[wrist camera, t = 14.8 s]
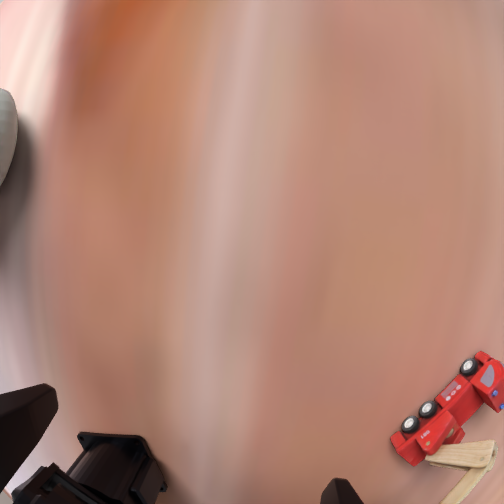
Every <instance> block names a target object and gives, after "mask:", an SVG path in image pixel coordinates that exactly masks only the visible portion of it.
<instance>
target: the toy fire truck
mask: <svg viewBox="0 0 504 504" xmlns="http://www.w3.org/2000/svg"><path fill="white" fill-rule="evenodd" d="M461 373H462V374H459V375H457V376H456V378H454V380H453V381H452V382H451V383H450V384H449V385H448V386H447V387H446V388H445V389H444V390H443V391H442V392H441V393H440V394H439V395H438V396H437V397H436V398H435V402H433V401H427V402H425V403H424V404H423V405H422V406H421V407H420V410H419V413H420V418H419V419H418V418H417V417H415V416H410V417H408V418H406V419H405V420H404V422H403V424H402V430H403V431H404V432H403V433H402V432H400V431H398V432H396V433H395V434H394V435H392V436H391V438H390V440H391V442H392V444H393V445H394V447H395V449H396V452H397V453H398V454H399V455H400V456H401V457H403V458H404V459H405V460H406V461H407V462H408V463H410V464H411V465H412V466H416V465H417V464H418V463H420V462H421V461H422V460H423V459H425V460H426V461H430V463H429V464H430V465H431V466H437V467H443V468H449V469H456V470H463V471H468V472H467V473H466V474H465V475H464V476H463V478H462V479H461V480H460V481H459V482H458V484H457V485H456V486H455V487H454V488H453V489H452V490H451V491H450V492H449V494H448V495H447V496H446V497H445V498H444V499H443V500H442V501H441V502H440V503H439V504H460V503H461V501H462V500H463V499H464V498H465V497H466V496H467V495H468V494H469V493H470V492H471V490H472V489H473V488H474V487H475V486H476V484H477V483H478V482H479V481H480V479H481V478H482V477H483V475H484V474H485V473H486V472H489V471H490V470H491V469H492V468H493V466H494V462H495V459H496V455H497V451H498V446H497V444H496V442H495V440H493V439H491V440H484V441H477V442H468V443H460V442H461V440H462V439H463V437H464V435H465V432H464V431H463V430H462V428H461V426H462V425H463V424H464V423H465V422H466V421H467V420H468V419H469V418H470V417H471V416H472V415H473V414H474V413H475V412H476V411H477V409H478V408H479V407H480V406H481V405H482V404H483V403H486V404H487V405H488V406H489V407H491V408H492V409H493V410H495V411H496V412H497V413H499V412H500V411H501V410H502V409H504V364H502V363H501V362H500V361H498V360H495V359H494V358H492V357H491V356H489V355H488V354H486V353H484V352H482V351H480V352H478V353H477V354H476V355H475V359H471V358H469V359H467V360H466V361H464V362H463V364H462V366H461Z"/></svg>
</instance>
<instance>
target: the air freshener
mask: <svg viewBox="0 0 504 504" xmlns="http://www.w3.org/2000/svg"><path fill="white" fill-rule="evenodd" d="M17 132H18V118H17V110H16V106H15V102H14V99H13V97H12V96H11V94H10V92H8V91H7V90H4V89H1V88H0V186H1V184H2V182H3V180H4V179H5V176H6V174H7V172H8V170H9V167H10V164H11V161H12V158H13V155H14V151H15V146H16V141H17Z"/></svg>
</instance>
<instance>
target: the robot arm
mask: <svg viewBox="0 0 504 504" xmlns="http://www.w3.org/2000/svg"><path fill="white" fill-rule="evenodd" d="M57 411H58V400H57V394H56V390H55V389H54V388H53V387H51V386H50V385H48V384H45V383H43V384H39V385H36V386H32V387H28V388H24V389H20V390H16V391H12V392H8V393H4V394H0V493H1V492H2V490H3V489H4V488H5V486H6V485H7V484H8V482H9V481H10V479H11V478H12V477H13V475H14V474H15V473H16V471H17V470H18V469H19V467H20V466H21V465H22V463H23V462H24V461H25V460H26V458H27V457H28V456H29V454H30V453H31V452H32V450H33V449H34V448H35V446H36V445H37V444H38V442H39V441H40V439H41V438H42V436H43V434H44V433H45V431H46V429H47V427H48V426H49V424H50V422H51V421H52V419H53V418H54V416H55V414H56V413H57ZM77 438H78V440H79V442H80V444H81V445H82V447H83V449H84V451H83V452H82V453H81V454H80V456H79V457H78V458H77V459H76V461H75V462H74V463H73V464H72V466H71V467H70V468H69V470H68V471H67V472H66V473H65V472H63V471H62V470H61V469H59V466H57V465H56V464H55V463H54V462H53V463H52V464H51V465H50V466H49V467H43V466H41V467H40V468H39V469H38V470H37V471H36V472H35V473H34V475H33V476H32V477H31V478H29V479H28V480H27V481H25V482H24V483H22V484H21V485H20V486H18V487H17V488H15V489H14V490H13V492H12V493H11V495H12V499H13V504H155V501H156V499H157V496H158V494H159V492H166V490H167V485H166V483H165V481H164V478H163V476H162V474H161V472H160V470H159V468H158V466H157V464H156V462H155V460H154V459H153V458H152V456H151V454H150V452H149V450H148V447H147V445H146V443H145V441H144V439H143V438H142V437H141V436H138V435H119V434H102V433H90V432H80V433H79V434H78V435H77ZM136 440H137V441H139V442H137V441H136ZM320 504H364V503H363V502H362V500H361V499H360V497H359V496H358V495H357V493H356V492H355V490H354V489H353V487H352V486H351V484H350V483H349V482H348V480H346V479H342V478H334V479H332V480H331V482H330V483H329V484H328V486H327V487H326V488H325V490H324V491H323V493H322V496H321V502H320Z"/></svg>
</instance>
